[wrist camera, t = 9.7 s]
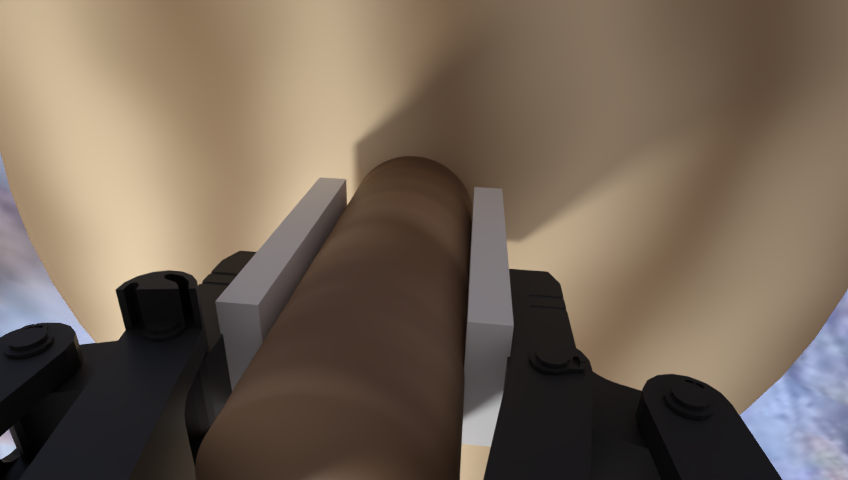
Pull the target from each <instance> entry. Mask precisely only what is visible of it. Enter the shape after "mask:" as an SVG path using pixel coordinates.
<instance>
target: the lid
mask: <svg viewBox="0 0 848 480" xmlns="http://www.w3.org/2000/svg"><path fill="white" fill-rule="evenodd" d="M0 152H1V156H2V160H3V163H4V167H5V171H6V175H7V178H8V182H9V186H10V190H11V193H12V195H13V198H14V200H15V203H16V206H17V208H18V211H19V213H20V216H21V218H22V221H23V223H24V226H25V228H26V231H27V233H28V236H29V239H30V241H31V243H32V244H33V246H34V248H35V250H36V252H37V254H38V256H39V258H40V260H41V262H42V263H43V265H44V267H45V269H46V271H47V273H48V275H49V277H50V279H51V281H52V282H53V284H54V286H55V287H56V289H57V290H58V292H59V293H60V295H61V296H62V298H63V299H64V301H65V302H66V304H67V305H68V307H69V308H70V310H71V311H72V312H73V314H74V315H75V317H76V318H77V320H78V321H79V323H80V324H81V325H82V327H83V328H84V329H85V330H86V331H87V333H88V334H89V335H90V336H91V338H92V339H93V340H94V341H95V342H96V343H101V342H110V341H117V340H119V339H120V337H121V336H122V334H123V333H124V332H125V326H124V322H123V318H122V314H121V310H120V306H119V302H118V298H117V294H116V289H117V288H118V287H119V286H121V285H122V284H123V283H124V282H126V281H128V280H130V279H133V278H135V277H137V276H140V275H144V274H147V273H151V272H157V271H167V270H171V271H183V272H185V273H188V274H191V275H193V277H194V278H195V279H196V280H197V283H198V285H199V284H202V281H203V280H204V279H205V278H206V277H207V276H208V274H211V271H212V270H213V269H214V268H215V267H216V266H217V265H218V264H219V263H220V262H221V261H222V260H223V259H225V258H227V257H229V256H231V255H233V254H235V253H236V252H238V251H252V252H257V251H258V250H259V249H260V248H261V247H262V245H263V244H264V243H265V242H266V241H267V239H268V238H269V237H270V236H271V235H272V233H273V232H274V231H275V230H276V229H277V228H278V226H279V225H280V224H281V223H282V222H283V220H284V219H285V218H286V217H287V216H288V214H289V213H290V212H291V211H292V210H293V209H294V207H295V206H296V205H297V204H298V203H299V201H300V200H301V199H302V198H303V197H304V196H305V194H306V193H307V192H308V191H309V190H310V188H311V187H312V186H313V185H314V184H315V182H316V181H317V180H318V179H319V178H320V177H321V178H337V179H346V186H347V207H346V208H345V210H344V211H343V213H342V215H341V216H340V218H339V220H338V221H337V223H336V224H335V226H334V228H333V229H332V231H331V233H330V234H329V236H328V237H327V239H326V241H325V242H324V244H323V245H322V247H321V249H320V250H319V252H318V254H317V255H316V257H315V258H314V260H313V262H312V263H311V265H310V267H309V268H308V270H307V271H306V273H305V275H304V276H303V278H302V280H301V281H300V283H299V284H298V286H297V288H296V289H295V291H294V292H293V294H292V296H291V297H290V299H289V301H288V302H287V304H286V305H285V307H284V309H283V310H282V312H281V314H280V315H279V317H278V318H277V320H276V322H275V323H274V325H273V327H272V328H271V330H270V331H269V333H268V335H267V336H266V338H265V339H264V341H263V343H262V344H261V346H260V348H259V349H258V351H257V352H256V354H255V356H254V357H253V359H252V361H251V362H250V364H249V365H248V367H247V369H246V370H245V372H244V373H243V375H242V377H241V378H240V380H239V382H238V383H237V385H236V386H235V388H234V390H233V391H232V393H231V395H230V396H229V398H228V399H227V401H226V403H225V404H224V406H223V408H222V409H221V411H220V412H219V414H218V416H217V417H216V419H215V420H214V422H213V424H212V425H211V427H210V429H209V430H208V432H207V433H206V435H205V437H204V438H203V441H202V443H201V445H200V447H199V449H198V453H197V458H196V466H195V475H196V480H483V478H484V474H485V470H486V465H487V461H488V457H489V452H490V448H491V447H489V446H479V445H469V444H462V426H463V406H464V386H465V380H464V360H465V341H466V323H467V304H468V285H469V267H470V248H471V229H472V214H473V200H474V187H483V188H499V189H502V192H503V204H504V216H505V228H506V240H507V251H508V263H509V269H519V270H533V271H546V272H549V273H550V274H551V275H552V276H553V277H554V278H555V279H556V280H557V281H558V282H559V283H560V285H561V289H562V293H563V297H564V298H563V300H564V301H565V305H566V311H567V313H568V317H569V321H570V325H571V329H572V333H573V337H574V341H575V345H576V348H577V349H578V350H580V351H581V352H582V353H583V354H584V355H585V356H586V357H587V358H588V359H589V360H590V364H591V367H592V371H593V372H594V373H596V374H598V375H600V376H601V377H603V378H605V379H607V380H610V381H612V382H615V383H618V384H621V385H624V386H628V387H631V388H634V389H637V390H641V391H642V389H643V387H644V385H645V383H646V381H647V380H649V379H651V378H653V377H655V376H657V375H663V374H677V375H683V376H688V377H691V378H694V379H697V380H699V381H702V382H704V383H707V384H708V385H710V386H711V387H713V388H714V389H716V390H718V391H719V392H721V393H722V394H723V395H724V396H725V397H726V398H727V400H728V401H729V402H730V403H731V404H732V405H733V407H734V408H735V410H736V411H737V413H738V414H739V415H740V414H741V413H742V412H744V411H745V410H746V409H747V408H748V407H749V406H750V405H751V404H753V403H754V402H755V401H756V400H757V399H758V398H759V397H760V396H761V395H762V394H763V393H765V392H766V391H767V390H768V389H769V388H770V387H771V386H772V385H773V384H774V383H775V382H777V381H778V380H779V379H780V378H781V377H782V376H783V375H784V373H785V372H786V371H787V370H788V369H789V368H790V366H791V365H792V364H793V363H794V362H795V361H796V359H797V358H798V357H799V356H800V355H801V354H802V353H803V351H804V350H805V349H806V348H807V347H808V346H809V344H810V343H811V342H812V341H813V340H814V339H815V337H816V336H817V334H818V333H819V331H820V330H821V328H822V327H823V325H824V324H825V322H826V321H827V319H828V318H829V316H830V315H831V313H832V312H833V310H834V309H835V307H836V306H837V304H838V303H839V301H840V300H841V298H842V297H843V295H844V294H845V292H846V291H847V289H848V0H0Z"/></svg>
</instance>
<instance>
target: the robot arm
mask: <svg viewBox="0 0 848 480" xmlns="http://www.w3.org/2000/svg"><path fill="white" fill-rule="evenodd" d="M346 207H347V186H346V179H337V178H321V177H320V178H319V179H318V180H317V181H316V182H315V184H314V185H313V186H312V187H311V188H310V190H309V191H308V192H307V193H306V194H305V196H304V197H303V198H302V199H301V200H300V201H299V203H298V204H297V205H296V206H295V207H294V209H293V210H292V211H291V212H290V213H289V214H288V216H287V217H286V218H285V219H284V220H283V222H282V223H281V224H280V225H279V226H278V228H277V229H276V230H275V231H274V232H273V233H272V235H271V236H270V237H269V238H268V239H267V241H266V242H265V243H264V244H263V245H262V247H261V248H260V249H259V250H258V251H257V252H252V251H238V252H236V253H235V254H233V255H231V256H229V257H227V258H225V259H223V260H222V261H221V262H220V263H219V264H218V265H217V266H216V267H215V268H214V269H213V270H212V271H211V274H208V276H207V277H206V278H205V279H204V280H203V281H202V284H199V285H198V283H197V280H196V279H195V278H194V277H193V275H191V274H188V273H185V272H183V271H171V270H167V271H157V272H151V273H147V274H144V275H140V276H137V277H135V278H133V279H130V280H128V281H126V282H124V283H123V284H122V285H121V286H119V287H118V288H117V289H116V294H117V298H118V302H119V306H120V310H121V314H122V318H123V322H124V326H125V332H124V333H123V334H122V336H121V337H120V339H119V340H117V341H110V342H101V343H92V344H83V345H79V343H78V339H77V336H76V333H75V331H74V330H73V329H72V328H71V326H68V325H65V324H62V323H38V324H36V325H34V324H32V325H28V326H24V327H23V328H21V329H18V330H15V331H12V332H10V333H8V334H6V335H4V336H2V337H0V436H1V435H3V434H4V433H5V432H6V431H7V430H8V429H9V430H10V433H11V435H12V438H13V440H14V443H15V445H16V449H15V450H14V451H13V452H12V453H11V454H9V455H8V456H6V457H5V458H3V459H0V480H196V475H195V466H196V458H197V453H198V449H199V447H200V445H201V443H202V441H203V438H204V437H205V435H206V433H207V432H208V430H209V429H210V427H211V425H212V424H213V422H214V420H215V419H216V417H217V416H218V414H219V412H220V411H221V409H222V408H223V406H224V404H225V403H226V401H227V399H228V398H229V396H230V395H231V393H232V391H233V390H234V388H235V386H236V385H237V383H238V382H239V380H240V378H241V377H242V375H243V373H244V372H245V370H246V369H247V367H248V365H249V364H250V362H251V361H252V359H253V357H254V356H255V354H256V352H257V351H258V349H259V348H260V346H261V344H262V343H263V341H264V339H265V338H266V336H267V335H268V333H269V331H270V330H271V328H272V327H273V325H274V323H275V322H276V320H277V318H278V317H279V315H280V314H281V312H282V310H283V309H284V307H285V305H286V304H287V302H288V301H289V299H290V297H291V296H292V294H293V292H294V291H295V289H296V288H297V286H298V284H299V283H300V281H301V280H302V278H303V276H304V275H305V273H306V271H307V270H308V268H309V267H310V265H311V263H312V262H313V260H314V258H315V257H316V255H317V254H318V252H319V250H320V249H321V247H322V245H323V244H324V242H325V241H326V239H327V237H328V236H329V234H330V233H331V231H332V229H333V228H334V226H335V224H336V223H337V221H338V220H339V218H340V216H341V215H342V213H343V211H344V210H345V208H346ZM563 298H564V297H563V293H562V289H561V285H560V283H559V282H558V281H557V280H556V279H555V278H554V277H553V276H552V275H551V274H550V273H549V272H546V271H533V270H519V269H509V263H508V251H507V240H506V228H505V216H504V204H503V192H502V189H499V188H483V187H474V200H473V214H472V229H471V248H470V267H469V285H468V304H467V323H466V341H465V360H464V380H465V386H464V406H463V426H462V444H469V445H479V446H489V447H491V448H490V452H489V457H488V461H487V465H486V470H485V474H484V478H483V480H782V479H781V477H780V476H779V474H778V473H777V471H776V470H775V468H774V467H773V465H772V464H771V462H770V461H769V459H768V458H767V456H766V455H765V453H764V452H763V450H762V449H761V447H760V446H759V444H758V443H757V441H756V440H755V438H754V437H753V435H752V434H751V432H750V431H749V429H748V428H747V426H746V425H745V423H744V422H743V420H742V419H741V417H740V416H739V414H738V413H737V411H736V410H735V408H734V407H733V405H732V404H731V403H730V402H729V401H728V400H727V398H726V397H725V396H724V395H723V394H722V393H721V392H719V391H718V390H716V389H714V388H713V387H711V386H710V385H708V384H707V383H704V382H702V381H699V380H697V379H694V378H691V377H688V376H683V375H677V374H663V375H657V376H655V377H653V378H651V379H649V380H647V381H646V383H645V385H644V387H643V389H642V391H641V390H637V389H634V388H631V387H628V386H624V385H621V384H618V383H615V382H612V381H610V380H607V379H605V378H603V377H601V376H600V375H598V374H596V373H594V372H593V371H592V367H591V364H590V360H589V359H588V358H587V357H586V356H585V355H584V354H583V353H582V352H581V351H580V350H578V349H577V348H576V345H575V341H574V337H573V333H572V329H571V325H570V321H569V317H568V313H567V311H566V305H565V301H564V300H563Z"/></svg>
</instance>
